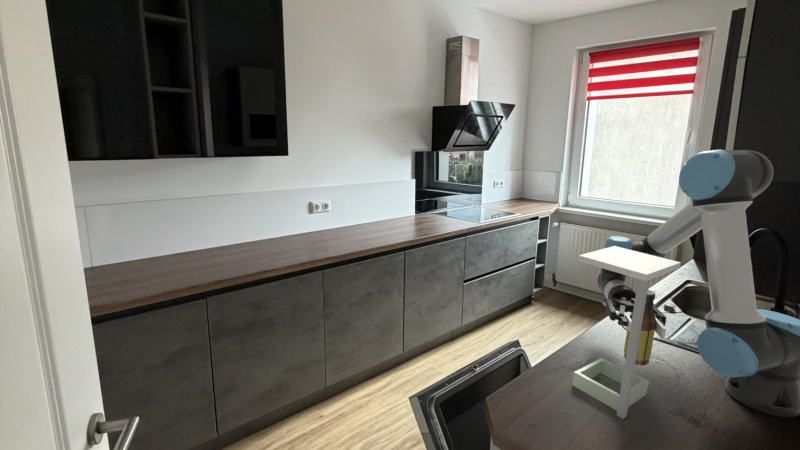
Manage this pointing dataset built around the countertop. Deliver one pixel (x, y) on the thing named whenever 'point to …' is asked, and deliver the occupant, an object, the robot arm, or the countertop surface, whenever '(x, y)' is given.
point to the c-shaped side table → (643, 270)
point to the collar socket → (603, 393)
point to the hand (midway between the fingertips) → (648, 331)
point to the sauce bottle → (645, 332)
